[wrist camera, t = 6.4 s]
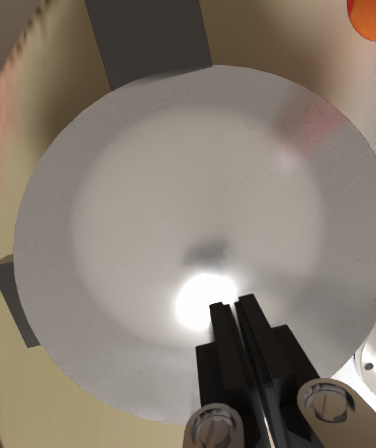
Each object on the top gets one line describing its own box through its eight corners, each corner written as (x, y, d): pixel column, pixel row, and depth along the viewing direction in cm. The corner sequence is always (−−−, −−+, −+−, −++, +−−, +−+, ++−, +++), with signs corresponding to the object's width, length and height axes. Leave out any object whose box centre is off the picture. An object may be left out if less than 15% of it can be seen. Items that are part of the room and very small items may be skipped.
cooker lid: (354, -68, 12) (413, -134, 9) (389, 368, 18) (432, 412, 15) (-73, 48, 12) (-150, 18, 9) (99, 441, 18) (85, 498, 15)
